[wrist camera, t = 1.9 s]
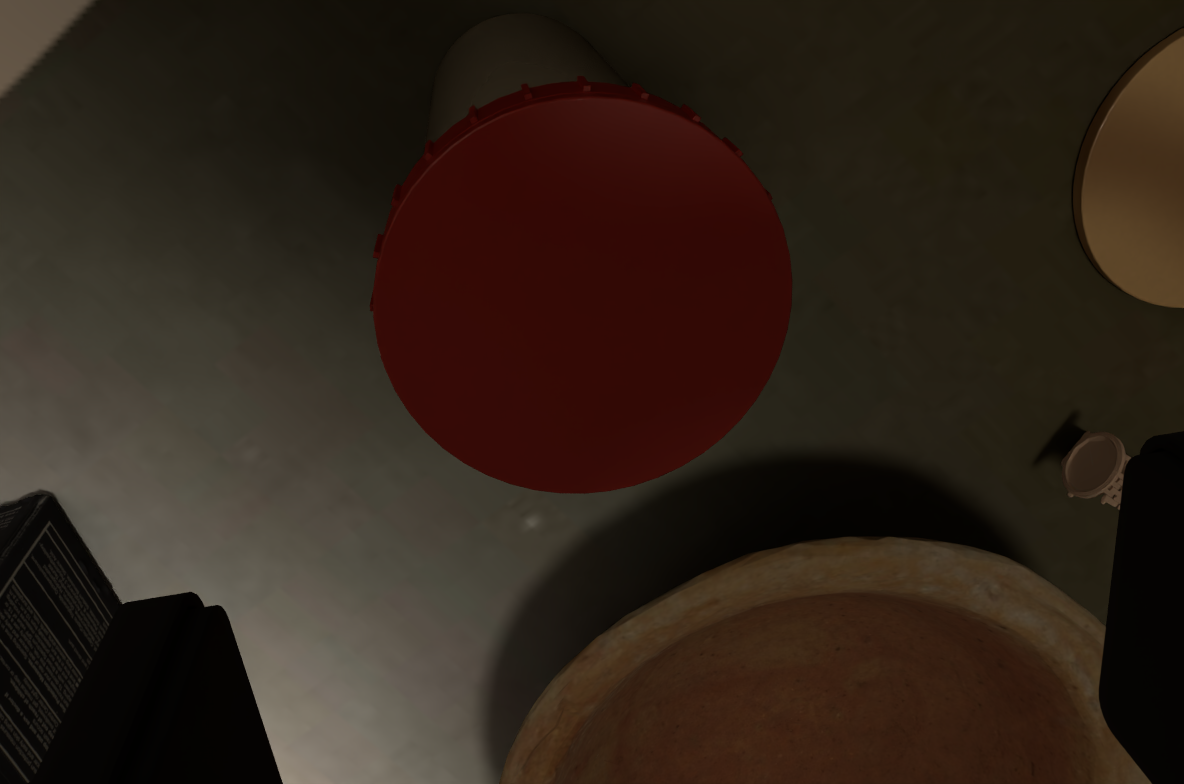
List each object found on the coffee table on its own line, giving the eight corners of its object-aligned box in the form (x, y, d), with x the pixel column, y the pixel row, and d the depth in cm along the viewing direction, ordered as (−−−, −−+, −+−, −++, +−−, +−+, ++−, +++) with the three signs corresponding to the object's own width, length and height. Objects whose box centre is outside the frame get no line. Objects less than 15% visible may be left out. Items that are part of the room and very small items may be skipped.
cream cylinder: (414, 25, 31) (372, 152, 15) (602, 0, 31) (747, 99, 16) (448, 210, 33) (440, 481, 18) (622, 185, 33) (763, 429, 18)
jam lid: (335, 108, 16) (324, 127, 15) (762, 49, 16) (790, 62, 15) (417, 483, 19) (414, 526, 17) (779, 425, 19) (802, 463, 18)
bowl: (860, 318, 36) (959, 420, 29) (1142, 697, 46) (1270, 845, 39) (364, 693, 41) (345, 862, 34) (715, 968, 50) (759, 1146, 43)
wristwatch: (1076, 404, 39) (1156, 470, 34) (1164, 455, 40) (1252, 525, 36) (1030, 460, 40) (1103, 532, 35) (1118, 508, 41) (1199, 583, 37)
